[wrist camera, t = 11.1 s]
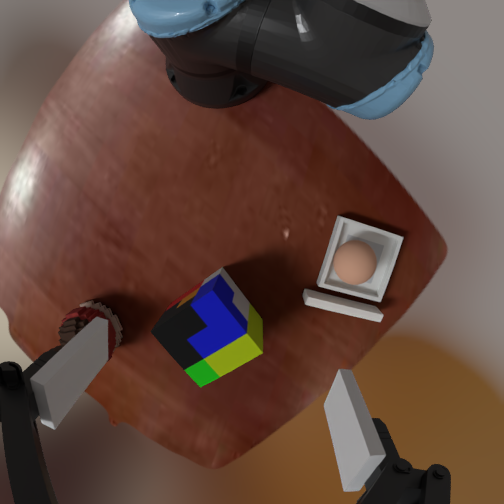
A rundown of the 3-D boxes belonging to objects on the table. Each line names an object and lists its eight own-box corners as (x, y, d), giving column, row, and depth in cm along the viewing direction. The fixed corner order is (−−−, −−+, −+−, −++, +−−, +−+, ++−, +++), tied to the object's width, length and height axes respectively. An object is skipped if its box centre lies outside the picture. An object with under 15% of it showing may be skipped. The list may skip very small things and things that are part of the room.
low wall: (304, 288, 45) (308, 296, 42) (375, 306, 46) (383, 314, 42) (302, 295, 46) (305, 304, 42) (373, 313, 46) (380, 322, 43)
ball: (348, 234, 44) (335, 233, 39) (386, 248, 41) (378, 249, 36) (335, 273, 45) (321, 277, 40) (372, 288, 42) (361, 294, 37)
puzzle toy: (222, 266, 45) (212, 289, 35) (262, 319, 47) (262, 352, 37) (171, 302, 47) (150, 331, 37) (210, 350, 48) (200, 387, 38)
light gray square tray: (337, 215, 43) (340, 216, 41) (398, 235, 43) (403, 237, 41) (316, 282, 45) (318, 286, 43) (376, 298, 45) (380, 302, 44)
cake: (113, 293, 46) (52, 344, 29) (135, 343, 48) (88, 408, 31) (67, 306, 47) (5, 352, 30) (89, 352, 49) (37, 409, 32)
